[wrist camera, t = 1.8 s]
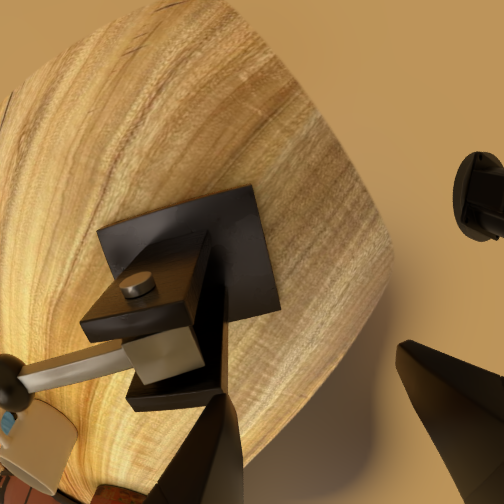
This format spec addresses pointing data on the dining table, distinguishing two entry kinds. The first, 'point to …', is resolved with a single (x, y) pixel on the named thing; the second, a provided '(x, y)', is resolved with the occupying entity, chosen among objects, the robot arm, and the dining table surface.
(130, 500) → the food container
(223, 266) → the bracket
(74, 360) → the lever
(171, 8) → the dining table surface
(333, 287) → the dining table surface
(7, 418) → the blue flat round piece
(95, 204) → the dining table surface
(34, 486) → the mug
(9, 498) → the toaster
